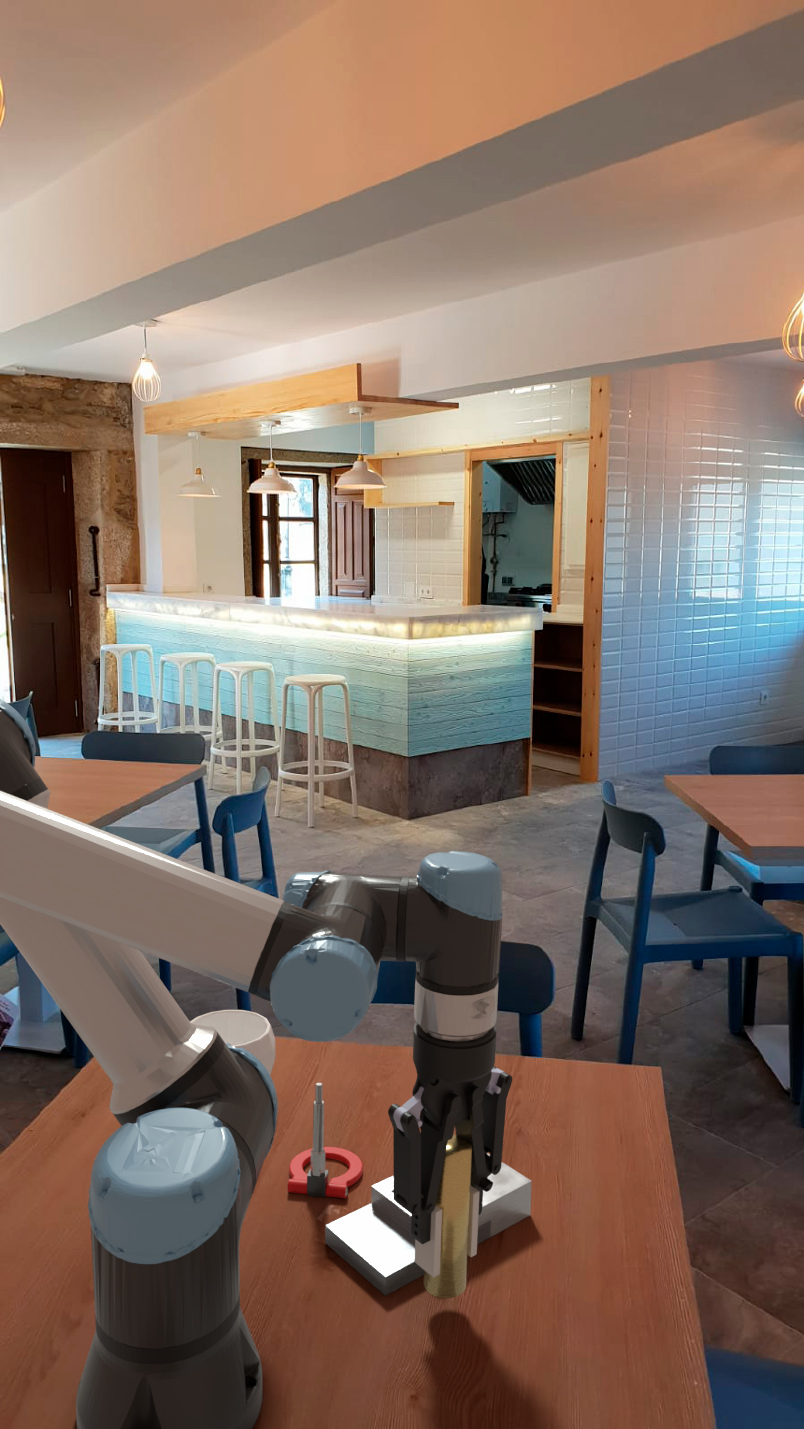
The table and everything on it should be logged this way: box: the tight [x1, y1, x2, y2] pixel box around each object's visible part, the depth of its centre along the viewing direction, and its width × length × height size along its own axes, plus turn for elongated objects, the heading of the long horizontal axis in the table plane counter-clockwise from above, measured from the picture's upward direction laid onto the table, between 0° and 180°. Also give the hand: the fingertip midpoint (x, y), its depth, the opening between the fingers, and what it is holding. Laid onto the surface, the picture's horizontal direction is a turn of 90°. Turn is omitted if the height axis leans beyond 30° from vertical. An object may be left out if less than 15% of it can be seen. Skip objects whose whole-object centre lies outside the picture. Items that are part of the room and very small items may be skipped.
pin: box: [423, 1134, 472, 1299], centre depth 98 cm, size 4×4×14 cm
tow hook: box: [287, 1082, 364, 1199], centre depth 119 cm, size 8×13×9 cm
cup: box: [189, 1009, 276, 1076], centre depth 136 cm, size 12×12×10 cm
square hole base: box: [324, 1152, 532, 1297], centre depth 110 cm, size 20×10×4 cm, turn 129°
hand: (445, 1257), depth 98 cm, fingers closed on pin, 4 cm apart
